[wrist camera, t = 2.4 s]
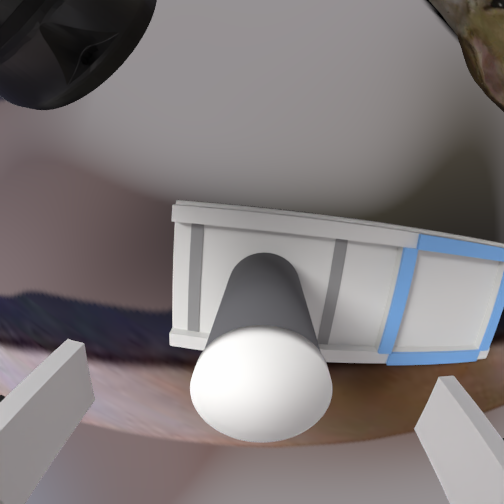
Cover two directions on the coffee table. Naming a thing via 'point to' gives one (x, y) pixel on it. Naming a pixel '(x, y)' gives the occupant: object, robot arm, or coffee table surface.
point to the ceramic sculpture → (479, 40)
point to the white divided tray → (346, 281)
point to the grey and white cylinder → (262, 357)
